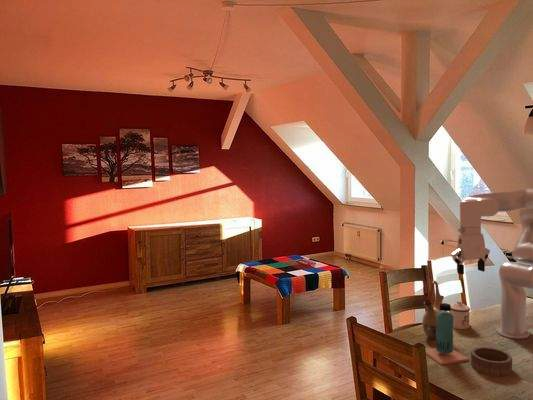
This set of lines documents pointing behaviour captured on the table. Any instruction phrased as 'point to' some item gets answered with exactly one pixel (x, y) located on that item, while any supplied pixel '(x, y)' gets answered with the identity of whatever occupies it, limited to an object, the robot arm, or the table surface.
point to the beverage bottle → (444, 329)
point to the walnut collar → (491, 361)
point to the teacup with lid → (460, 315)
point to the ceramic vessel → (431, 311)
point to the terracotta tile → (445, 356)
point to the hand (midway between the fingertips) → (470, 272)
